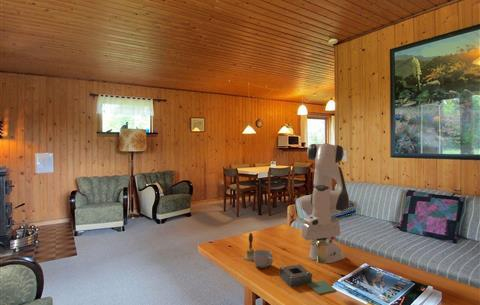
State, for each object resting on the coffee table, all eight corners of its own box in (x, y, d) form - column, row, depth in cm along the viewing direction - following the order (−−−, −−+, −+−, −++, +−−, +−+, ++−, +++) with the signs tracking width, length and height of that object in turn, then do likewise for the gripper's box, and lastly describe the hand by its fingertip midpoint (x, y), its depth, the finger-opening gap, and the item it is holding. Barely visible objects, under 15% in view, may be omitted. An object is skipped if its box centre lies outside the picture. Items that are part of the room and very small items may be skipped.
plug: (322, 259, 138) (322, 239, 137) (328, 262, 133) (328, 242, 133) (314, 260, 136) (314, 240, 136) (320, 264, 132) (320, 243, 131)
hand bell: (256, 255, 175) (256, 230, 175) (257, 260, 167) (257, 235, 166) (243, 255, 175) (243, 231, 174) (244, 261, 167) (244, 235, 166)
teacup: (250, 263, 163) (250, 250, 163) (267, 260, 167) (267, 247, 167) (260, 273, 150) (260, 259, 150) (278, 270, 154) (278, 256, 154)
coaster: (323, 281, 141) (323, 280, 141) (336, 291, 132) (336, 289, 132) (306, 284, 138) (306, 283, 138) (318, 294, 129) (318, 293, 129)
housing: (299, 273, 150) (299, 263, 150) (311, 283, 139) (311, 273, 139) (279, 276, 146) (279, 266, 146) (291, 287, 135) (291, 276, 135)
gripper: (334, 215, 141) (334, 241, 141) (300, 219, 134) (300, 246, 134) (343, 218, 135) (342, 246, 135) (307, 222, 128) (307, 251, 128)
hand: (321, 246), depth 134 cm, fingers closed on plug, 5 cm apart
